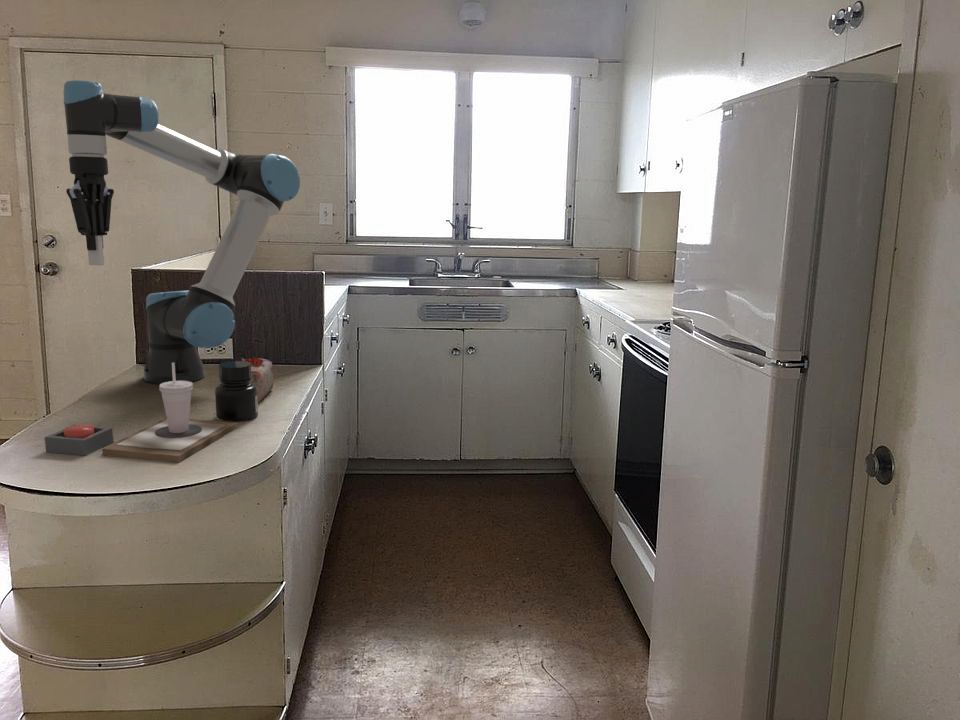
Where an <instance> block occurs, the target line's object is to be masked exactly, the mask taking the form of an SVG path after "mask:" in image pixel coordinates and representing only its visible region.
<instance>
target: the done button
mask: <svg viewBox="0 0 960 720" xmlns="http://www.w3.org/2000/svg"><path fill="white" fill-rule="evenodd" d="M72 425H73V426H72ZM72 425H69V426H66V427H65V428H63V429H64V437H72V438H85V437H87V436H90V435H92V434H94V426H95V425H93V424H87V423H86V424H85V423H83V424H81V423H80V424H72Z"/></svg>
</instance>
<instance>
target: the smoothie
mask: <svg viewBox="0 0 960 720" xmlns="http://www.w3.org/2000/svg"><path fill="white" fill-rule="evenodd" d="M172 376H173V381H169V382H165V383H162V384H159V387H158V388H159V392H161V397H162V402H163V406H164V412H165V413H164V414H165V416H166V418H167V423H168V427H169V432H171V433H182V432H186V431H188V430H189V419H190V416H191V415H190V413H191V400H192V391H193V389H194V386H193V385H194V384H193V381H191V382H189V381H176V377H175V363H172Z"/></svg>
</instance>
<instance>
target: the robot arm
mask: <svg viewBox="0 0 960 720" xmlns="http://www.w3.org/2000/svg"><path fill="white" fill-rule="evenodd" d="M102 86H103V85H102V84H101V83H99V82H97V81H91V80H79V79H78V80H77V79H76V80H67V81H66V82H65V83H64V85H63V105H64V114H65V123H66V134H67V148H68V153H69V154H71V156H69V158H68V161H69V172H70V174H72V175H74V179H73V186H72V187H71V188H67V189H66V194H67V196H68V198H69V200H70V203H71V208H72V209H71V210H72V211H73V217H74V220H75V224H76V228H77V232H78V233H80V235H81V236H85V239H86V243H85V244H86V250H87V257H88V258H87V259H88V266H99V267H100V266H105V256H104V236H107V235H108V232H109V231H110V227H111V225H110V224H111V215H112V214H111V211H112V201H113V200H112V199H113V197H114V193H115V190H114V189H113V188H108V186H107V183H106V180H105V176H107V175H108V174H109V166H108V165H109V163H108V159H107V157H105V156H106V155H108V149H107V137H106V136H108V137H110V138H113V139H115V140H118V141H120V142H123V143H125V144H127V145H130V146H132V147H134V148H137V149H139V150H141V151H142V152H143V151H144V152H146V153H148V154H151V155H153V156H155V157H157V158H160V159H162V160H164V161H167V162H169V163H171V164H174V165H176V166H179V167H180V168H183V169H186V170H188V171H190V172H193V173H194V174H197V175H200V176H202V177H205V178H204V179H205V180H206V181H207V183H209V184H211V185H213V186H215V187H217V188H220V189H222V190H224V191H226V192H229V193H231V194H233V195H235V196H237V197H238V200H239V201H238V203H237V205H236V207H235V209H234V211H233V213H232V216H231V218H230V220H229V221H228V224H227V226H226V227H225V230H224V232H223V233H222V236H221V238H220V241H219V243H218V244H217V247H216V249H215V251H214V253H213V255H212V257H211V260H210V261H209V262H208V265H207V268H206V270H205V272H204V273H203V276H202V278H201V280H200V281H199V282H198V283H195V284H192V285H190V287H189V289H188V290H176V291H165V292H164V291H163V292H154V293H152V292H151V293H148V295H147V296H146V301H145V302H146V303H145V305H146V306H145V310H146V320H147V321H146V322H147V332H148V333H147V334H148V335H147V336H148V337H147V338H148V349H149V350H148V354H147V357H146V361H145V365H144V369H143V380H144V381H145V382H147V383H151V384H159V385H160V384H162V383H165V382H169V381H173V376H172V363H175V377H176V381H189V382H195V381H199V380H202V379H203V378H205V376H206V371H205V366H204V364H203V361H202V358H201V356H200V354H199V351H198V349H197V348H200V349H202V348H204V349H205V348H206V349H213V348H214V349H215V348H217V347H219V346H221V345H223V344H225V343H226V342H228V340H229V339H230V338H231V336H232V334H233V332H234V330H235V325H236V321H235V319H234V318H235V315H234V313H233V311H234V310H235V307H236V302H235V301H234V299H233V296H234V294H235V293H236V290H237V289H238V286H239V284H240V282H241V280H242V278H243V276H244V274H245V272H246V270H247V268H248V265H249V264H250V261H251V259H252V257H253V255H254V252H255V250H256V248H257V245H258V244H259V242H260V240H261V237H262V236H263V233H264V231H265V229H266V226H267V224H268V223H269V221H270V219H271V217H273V216H275V215H276V216H277V215H279V213H280V211H281V209H282V208H283V207H282V206H284V203H285V202H289V201H291V200H293V199H294V198H296V196H297V195H298V193H299V190H300V185H301V179H300V178H301V177H300V174H299V171H298V170H299V169H298V168H297V166H296V165H295V163H294V162H293V161H292V160H291V159H290V158H288V157H287V156H284V155H281V154H280V155H279V154H275V153H270V154H238V153H234V152H230V151H229V150H225V149H223V148H217V149H214V148H212V147H210V146H207V145H205V144H203V143H201V142H198V141H196V140H195V139H192V138H190V137H189V136H186V135H183V134H181V133H179V132H177V131H175V130H173V129H170V128H168V127H167V126H164V125H162V124H159V121H160V115H159V113H160V112H159V108H158V105H157V104H156V102H155V101H154V100H153V99H151V98H146V97H142V96H132V95H131V96H130V95H122V94H121V95H119V94H110V93H106V92H104V90H103V87H102Z"/></svg>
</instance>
